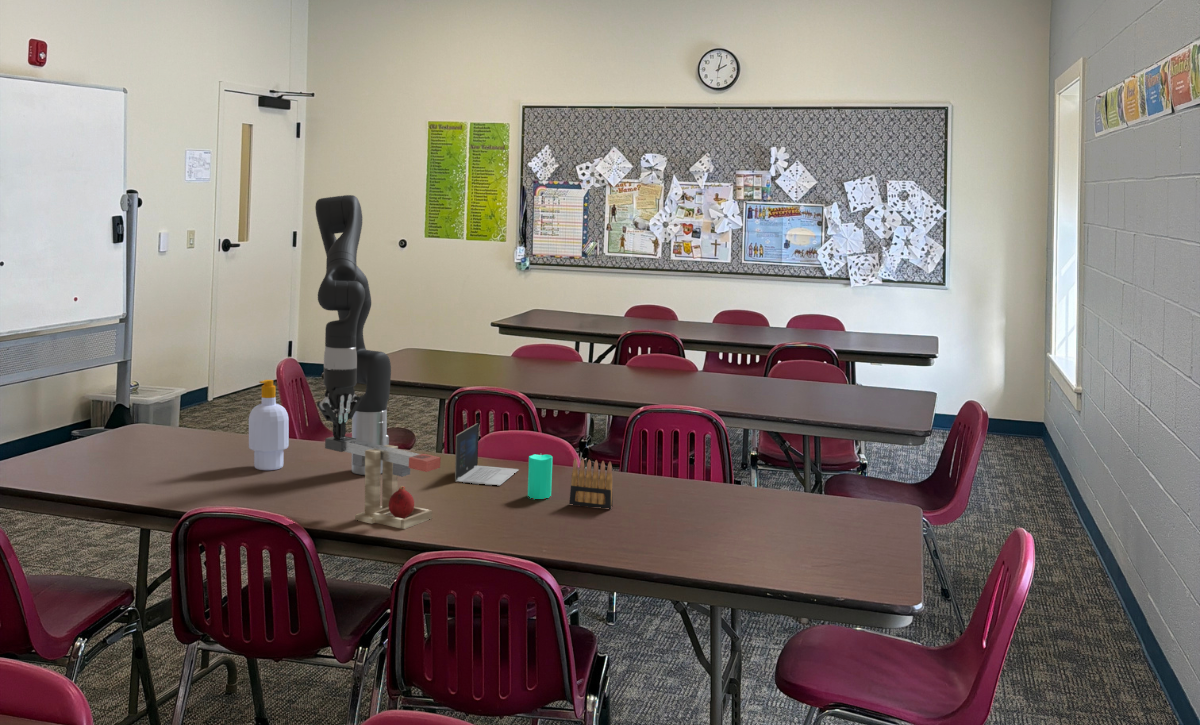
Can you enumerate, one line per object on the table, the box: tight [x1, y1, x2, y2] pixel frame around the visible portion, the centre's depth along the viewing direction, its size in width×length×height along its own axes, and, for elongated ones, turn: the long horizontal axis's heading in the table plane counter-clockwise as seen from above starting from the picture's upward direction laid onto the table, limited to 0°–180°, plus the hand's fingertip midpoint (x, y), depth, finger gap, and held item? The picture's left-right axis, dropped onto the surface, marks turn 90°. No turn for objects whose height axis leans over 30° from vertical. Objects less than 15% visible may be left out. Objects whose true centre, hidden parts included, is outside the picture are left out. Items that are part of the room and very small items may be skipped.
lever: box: [324, 435, 442, 477], centre depth 232 cm, size 30×5×5 cm, turn 62°
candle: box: [527, 453, 554, 500], centre depth 255 cm, size 6×6×12 cm
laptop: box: [454, 423, 519, 487], centre depth 273 cm, size 18×12×13 cm
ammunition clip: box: [568, 457, 614, 510], centre depth 248 cm, size 11×2×12 cm, turn 75°
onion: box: [388, 485, 415, 519], centre depth 231 cm, size 6×6×8 cm
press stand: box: [354, 444, 433, 530], centre depth 231 cm, size 14×12×16 cm
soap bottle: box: [248, 379, 290, 471], centre depth 273 cm, size 10×10×24 cm
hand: (339, 438), depth 238 cm, fingers closed
